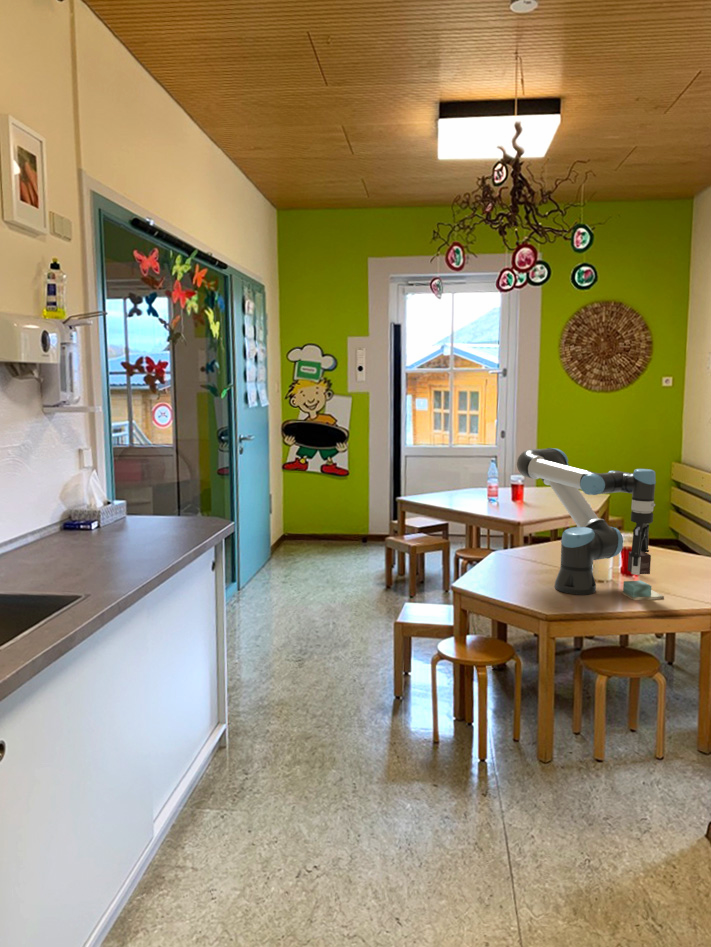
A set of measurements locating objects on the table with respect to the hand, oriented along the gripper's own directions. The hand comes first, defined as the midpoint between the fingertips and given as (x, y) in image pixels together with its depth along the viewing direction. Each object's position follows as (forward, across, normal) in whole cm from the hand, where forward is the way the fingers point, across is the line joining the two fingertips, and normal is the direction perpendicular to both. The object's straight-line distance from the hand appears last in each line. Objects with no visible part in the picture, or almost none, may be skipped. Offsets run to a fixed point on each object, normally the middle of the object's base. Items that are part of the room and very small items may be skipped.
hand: (638, 571), depth 263 cm
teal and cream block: (+10, +2, -2) cm, 10 cm away
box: (+1, 0, 0) cm, 1 cm away
